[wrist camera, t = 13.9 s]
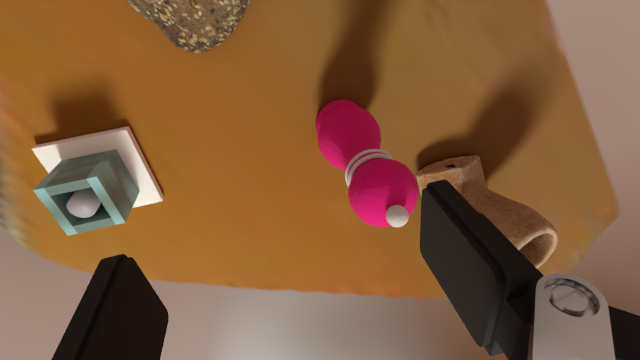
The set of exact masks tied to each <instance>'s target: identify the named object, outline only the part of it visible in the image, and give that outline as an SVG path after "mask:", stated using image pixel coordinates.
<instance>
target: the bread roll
mask: <svg viewBox="0 0 640 360" xmlns="http://www.w3.org/2000/svg"><path fill="white" fill-rule="evenodd" d="M127 1H128V3H130V4H131V6H132V7H133V9H134V10H135V11H137V12H138V13H140V14H141V15H143V16H144V17H145V18H146V19H149V20H151V21H153V22H154V23H155V24H156V25H157V26H159V27H160V28H161V29H162V31H163V33H164V34H165V35H166V36H167V37H168V38H169V39H170V40H171V41H172V43H173V44H174V45H176V46H178V47H179V48H180V49H182V50H184V51H188V52H192V51H193V52H197V53H199V52H202V51H208V49H209V48H211V47H215V46H219V45H221V43H222V41H223V40H224V39H225V38H226V37H227V36H228V35H229V34H230V33H232V32H233V30H235V28H236V26H237V24H238V23H239V21H240V19H241V18H242V17H243V15H244V12H245V10H246V8H247V6H248V5H249V2H250V0H127Z"/></svg>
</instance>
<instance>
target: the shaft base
mask: <svg viewBox="0 0 640 360" xmlns="http://www.w3.org/2000/svg"><path fill="white" fill-rule="evenodd" d="M114 149H117V151H118V153H119V155H120V157H121V158H122V160H123V162H124V164H125V166H126V167H127V169H128V171H129V173H130V175H131V177H132V178H133V180H134V182H135V184H136V186H137V187H138V189H139V191H140V192H139V194H138V196H137V199H136V201H135V203H134V205H133V207H132V208H134V207H138V206H143V205H147V204H152V203H156V202H161V201H163V198H164V195H163V193H162V191H161V189H160V187H159V185H158V183H157V181H156V179H155V177H154V175H153V173H152V171H151V169H150V168H149V166H148V164H147V162H146V160H145V158H144V156H143V154H142V152H141V150H140V148H139V146H138V144H137V142H136V140H135V138H134V136H133V134H132V132H131V130H130V128H129V126H127V127H122V128H117V129H112V130H107V131H102V132H97V133H92V134H87V135H82V136H77V137H72V138H68V139H63V140H58V141H53V142H48V143H43V144H38V145H35V146H34V147H33V148H32V151H33V152H34V153H35V155H36V156H37V158H38V159H39V160H40V162H41V163H42V165H43V166H44V167H45V169H46V170H47V172H48V173H50V172H51V171H52V170H53V169H54V168H55V167H56V166H57V165H58V163H59V162H60V161H61V160H66V159H71V158H76V157H80V156H85V155H90V154H95V153H99V152H104V151H109V150H114ZM100 204H101V201H100V199H99V198H98V196H97V195H96V193H95V192H94V190H93V189H92V187H90V188H85V189H80V190H76V191H75V193H74V194H73V195H72V197H71V198H70V199H69V201H68V202H67V209H68V211H69V212H70V213H71V214H73V215H75V216H77V217H81V218H87V217H91V216H93V215H94V214H95V212H96V211H97V209H98V207H99V206H100Z"/></svg>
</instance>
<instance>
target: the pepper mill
mask: <svg viewBox="0 0 640 360" xmlns="http://www.w3.org/2000/svg"><path fill="white" fill-rule="evenodd" d="M316 130H317V133H318V145H319V148H320V151H321V152H322V154H323V155H324V157H325V158H326V159H327V161H329V162H330V163H331V164H332V165H334V166H335V167H337V168H340V169H342V170H345V181H346V183H347V185H348V187H349V192H348V197H349V201H350V204H351V207H352V209H353V210H354V212H355V213H356V214H357V216H358V217H359V218H360V219H361V220H363V221H364V222H366V223H368V224H370V225H374V226H379V227H383V226H391V225H392V226H393V227H401V226H403V225H405V224H406V223H407V221H408V218H409V215H410V214H411V212H412V211H413V209H414V208H415V205H416V203H417V200H418V185H417V182H416V179H415V177H414V175H413V174H412V172H411V171H410V169H408V168H407V167H406V166H405V165H404V164H402V163H400V162H398V161H395V160H394V159H393V157H392V156H391V155H390V154H389V153H388V152H386V151H384V150H381V149H380V144H381V135H380V129H379V126H378V124H377V122H376V120H375V118H374V117H373V116H372V115H371V114H370V113H369V112H368V111H366V110H365V109H363V108H360V107H359V106H358V105H357V104H356V103H354V102H352V101H350V100H345V99H340V100H335V101H332V102H330V103H328V104H327V105H326V106H325V107H324V108H323V109H322V110H321V111H320V113H319V115H318V117H317V120H316Z"/></svg>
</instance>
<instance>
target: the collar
mask: <svg viewBox="0 0 640 360" xmlns="http://www.w3.org/2000/svg"><path fill="white" fill-rule="evenodd" d="M90 187H92V189H93V190H94V192H95V193H96V195H97V196H98V198H99V199H100V201H101V204H100V206H99V207H98V209H97V211H96V212H95V214H94V215H93V216H91V217H87V218H81V217H77V216H75V215H73V214H71V213H70V212H69V211H68V209H67V202H68V201H69V199H70V198H71V197H72V195H73V194H74V193H75V191H76V190H80V189H85V188H90ZM33 191H34V192H35V194H36V195H37V196H38V198H39V199H40V200H41V201H42V203H43V204H44V205H45V207H46V208H47V209H48V210H49V212H50V213H51V214H52V216H53V217H54V218H55V220H56V221H57V222H58V223H59V225H60V226H61V227H62V229H63V230H64V231H65V233H66V234H67V235H73V234H77V233H81V232H86V231H90V230H95V229H99V228H103V227H108V226H112V225H117V224H121V223H125V222H126V220H127V218H128V216H129V214H130V211H131V209H132V207H133V205H134V203H135V201H136V199H137V196H138V194H139V192H140V191H139V189H138V187H137V186H136V184H135V182H134V180H133V178H132V177H131V175H130V173H129V171H128V169H127V167H126V166H125V164H124V162H123V160H122V158H121V157H120V155H119V153H118V151H117V149H114V150H109V151H104V152H99V153H95V154H90V155H85V156H80V157H76V158H71V159H66V160H61V161H60V162H59V163H58V165H57V166H56V167H55V168H54V169H53V170H52V171H51V172H50V173H49V174H48V175H47V176H46V177H45V178H44V179H43V180H42V181H41V182H40V183H39V184H38V185H37V187H36V188H35V189H34V190H33Z"/></svg>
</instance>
